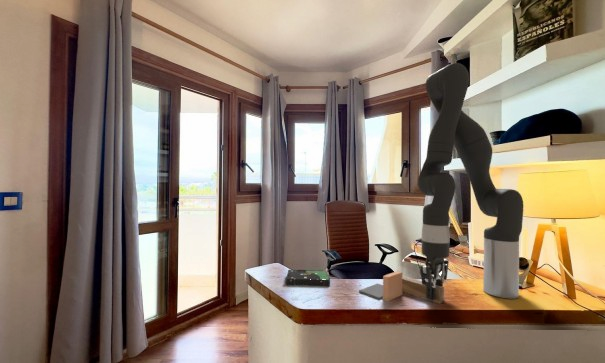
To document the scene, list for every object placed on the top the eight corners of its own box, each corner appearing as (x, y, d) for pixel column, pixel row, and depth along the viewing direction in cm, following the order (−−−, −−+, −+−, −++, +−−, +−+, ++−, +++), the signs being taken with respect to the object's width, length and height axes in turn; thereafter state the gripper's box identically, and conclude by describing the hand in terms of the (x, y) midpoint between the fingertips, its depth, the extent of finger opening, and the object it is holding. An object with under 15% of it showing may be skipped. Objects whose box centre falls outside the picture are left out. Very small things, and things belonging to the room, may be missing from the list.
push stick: (394, 285, 96) (395, 273, 96) (443, 300, 83) (443, 287, 83) (389, 287, 94) (390, 275, 94) (439, 303, 81) (439, 289, 82)
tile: (397, 293, 89) (397, 270, 89) (402, 294, 88) (402, 272, 88) (382, 299, 84) (382, 275, 84) (387, 301, 82) (388, 277, 82)
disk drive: (285, 287, 94) (330, 287, 94) (285, 278, 94) (330, 279, 94) (287, 277, 104) (328, 277, 104) (288, 269, 104) (328, 269, 104)
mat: (377, 285, 95) (377, 283, 95) (397, 291, 90) (397, 289, 90) (358, 292, 89) (359, 290, 89) (379, 299, 83) (379, 297, 83)
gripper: (437, 244, 77) (436, 308, 76) (458, 238, 86) (457, 295, 86) (411, 240, 82) (410, 299, 82) (433, 235, 92) (432, 288, 92)
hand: (434, 296), depth 84 cm, fingers open, 4 cm apart
